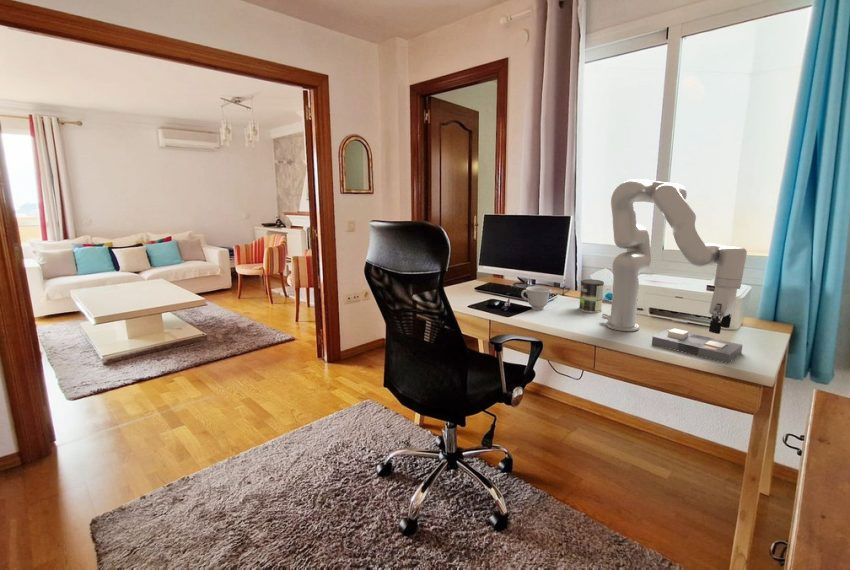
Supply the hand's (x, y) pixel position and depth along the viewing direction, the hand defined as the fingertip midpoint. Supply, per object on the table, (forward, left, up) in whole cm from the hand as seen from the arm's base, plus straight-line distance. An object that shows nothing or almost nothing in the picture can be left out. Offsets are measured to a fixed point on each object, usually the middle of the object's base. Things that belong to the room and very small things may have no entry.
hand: (719, 329), depth 148 cm
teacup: (-76, -3, -8) cm, 77 cm away
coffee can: (-57, +15, -8) cm, 60 cm away
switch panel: (-5, -5, -7) cm, 10 cm away
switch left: (-11, -5, -5) cm, 13 cm away
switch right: (+1, -5, -7) cm, 8 cm away
